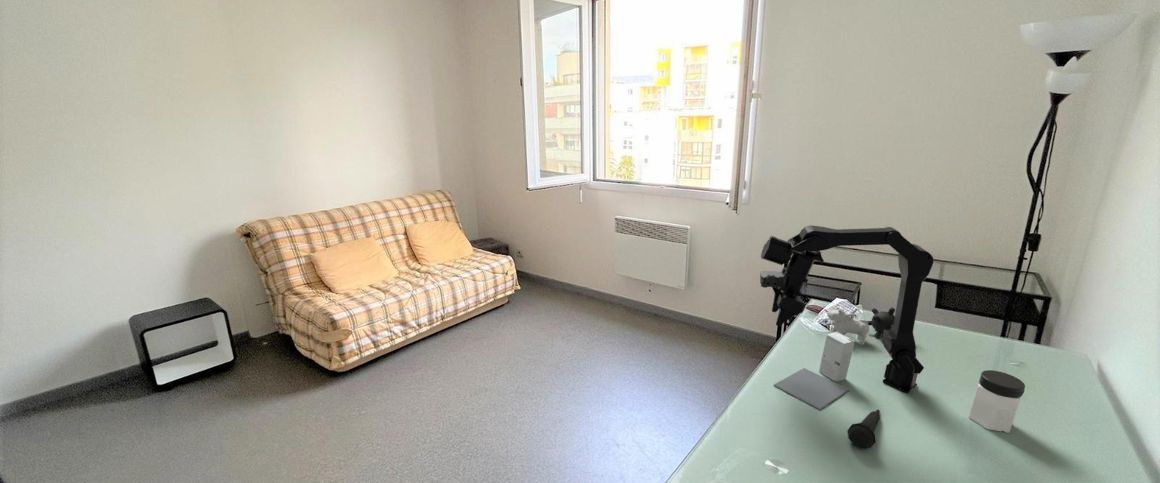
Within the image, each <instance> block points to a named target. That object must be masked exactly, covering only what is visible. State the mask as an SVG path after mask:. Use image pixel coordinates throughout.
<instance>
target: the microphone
mask: <svg viewBox="0 0 1160 483" xmlns="http://www.w3.org/2000/svg"><path fill="white" fill-rule="evenodd" d="M880 419H881V414H880V409H876V410H875V411H874V410H872V411H870V413H869V414H867V415H866V416H865V417H864V419H862V421H861V422H858V423H851V425H850V426H849V428H848V429H847V438H848V440H849V442H850V443H851V444H852V445H853V446H854V447H856V448H858V449H864V450H867V449H872V448H873V446H874V445H875V444H876V442H877V439H876V433H875V431H876V428H877V427H878V424H879V421H880Z"/></svg>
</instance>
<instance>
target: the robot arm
mask: <svg viewBox="0 0 1160 483" xmlns="http://www.w3.org/2000/svg"><path fill="white" fill-rule="evenodd" d="M878 245H879V246H883V245H886V246H890V248H892V249H893V250H895V251H896V252H897V254H898V255H897V257H898V258H897V259H898V269H899V273H900V284H899V291H898V295H897V301H896V308H895V312H894V316H895V319H894V324H893V327H892V328H891V329H890V330H884V331H883V333H884V334H883V337H882V339H881V341H880V343H882V345H883V348H884V349H885V351H886V352H887V353H888V355H889V357H890V358H891V360H889V363H888V364H886V366H885V371H884V374H883V378H884V379H882V383H884V384H885V385H888V386H891V387H893V388H895V389H897V390H900V391H902V392H904V393H907V394H908V393H910V392H911V391H913V389H915V388H916V387H918V383H917V378H918V375H919V374H922V372H923V370H924V369H925V367H924V366H923V364H922V363H921V362H920V361H919V359H918V358H917V350H916V349H917V345H916V340H915V336H914V328H915V323H916V317H917V313H918V312H917V311H918V307H919V300H920V296H921V289H922V284H923V282H924V281H925V280H926V279H927V278H928V276H929V275H930V272H931V270H932V268H933V265H934V261H935V260H934V259H935V258H934V257H933V255H932V254H931V253H930V252H929V251H927V250H926V249H924V248H923V247H921V246H920V245H918V244H915V243H911V242H910V241H909V240H908V239H906V237H904V236H903V235H902V233H901V232H900V231H898V230H897V229H896V228H894V227H892V226H885V227H874V228H847V229H845V228H842V229H835V228H831V227H825V226H819V225H806V226H804V227H803V228H802V229H801V230H800V232H799V233H798V234H796V235H794V236H793V237H790V238H789V239H787V240H783V239H782V238H781V239H780V238H778V237H776V236H774V235H770V236H769V238H768V239H767V241H766V243H765V244H763V247H762V250H761V253H760V258H761V260H765V261H768V262H771V263H774V264H777V265H779V266H782V265H786V264H787V266H785V267H783V268H782V269H781V271H770V270H769V271H767V270H765V271H760V272H759V280H760V281H759V283H760V287H762V288H772V290H773V293H774V294H773V302H772V306H771V308H772V309H771V312H773V313H777V312H778V313H777V317H776V321H775V325H776V326H778V327H781V326H782V325H783V324H785V323H787V321H789V320H790V319H791V318H793V317H795V316H797V315H799V314H803V312H804V311H805V308H806V306H805V304H804V302H803V299H802V297H801V296H802V294H803V293H802V289H803V287H804V284H805V283H806V284H808V282H809V279H808V275H809V273H810V272H811V269H812V267H813V265H814V263H815V261H817V262H820V263H824V259H823V256H822V252H821V251H827V250H830V249H832V248H835V247H844V246H845V247H846V246H848V247H849V246H851V247H852V246H878Z"/></svg>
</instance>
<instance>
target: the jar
mask: <svg viewBox="0 0 1160 483" xmlns="http://www.w3.org/2000/svg"><path fill="white" fill-rule="evenodd" d="M1025 389H1026V384H1025V383H1024V381H1022V380H1021V379H1019V378H1018V377H1016V376H1014V375H1011V374H1009V373H1006V372H1002V371H999V370H991V369H990V370H983V371H982V372H981V373H980V377H979V380H978V384H977V387H976V390H975V394H974V397H973V402H972V404H971V407H970V411H969V414H968V418H969V419H970V420H972V421H973V422H975V423H977V424H978V425H980V426H981V427H983V428H985V429H986V430H990V431H991V430H992V431H996V430H997V432H1001V431H1004V432H1003V433H1007V432H1009V433H1010V432H1011V430H1012V426H1013V424H1014V420H1015V417H1016V416H1017V415H1016V413H1017V411H1018V408H1019V405H1020V402H1021V400H1022V397H1023V395H1024V393H1025V391H1026V390H1025ZM1010 429H1011V430H1010Z"/></svg>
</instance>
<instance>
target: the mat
mask: <svg viewBox="0 0 1160 483" xmlns="http://www.w3.org/2000/svg"><path fill="white" fill-rule="evenodd" d="M773 386H774V387H775V388H777V389H779V390H781V391H783V392H784V393H787V394H789V395H790V396H791V397H794V398H795V399H798V400H799V401H802V402H803V403H806V404H807V405H809V406H810V407H813V408H814V409H816V410H819V411H821V410H822V409H824V408H825V407H826V406H828V405H830V404H831V403H832V402H834V401H836V400H837V399H839V398H840V397H842V396H843V395H845V394H846V393H848V392H849V391H850V389H849V388H848V387H845V386H843V385H841V384H840V383H839V384H838V383H836V381H834V380H833V381H832V380H830V379H828V378H826V377H824V376H822V375H820V374H818V373H815V372H813V371H811V370H809V369H807V368H805V367H803V368H801V369H800V370H797V371H796V372H794V373H792V374H790V375H789V376H787V377H786V378H784V379H782V380H780V381H778V382H776V383H774V384H773Z"/></svg>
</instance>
